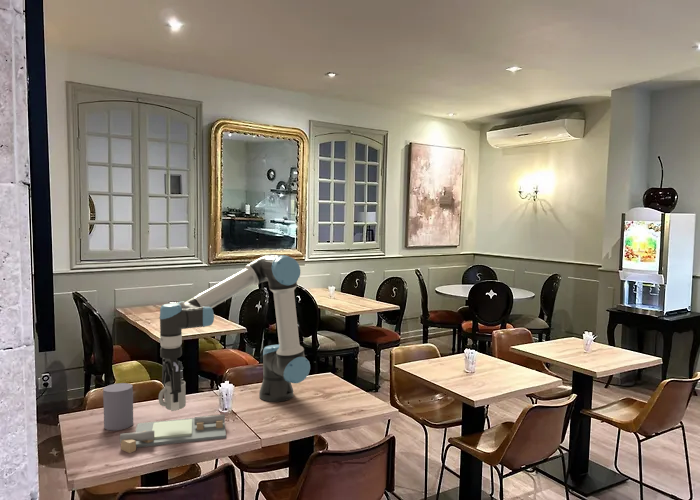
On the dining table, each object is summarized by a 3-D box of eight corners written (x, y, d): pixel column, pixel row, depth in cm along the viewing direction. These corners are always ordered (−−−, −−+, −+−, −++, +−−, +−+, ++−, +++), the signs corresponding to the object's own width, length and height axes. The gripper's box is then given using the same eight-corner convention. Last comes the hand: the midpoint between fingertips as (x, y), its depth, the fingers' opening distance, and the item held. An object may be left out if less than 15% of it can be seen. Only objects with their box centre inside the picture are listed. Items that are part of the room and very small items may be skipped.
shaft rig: (223, 417, 214) (223, 405, 213) (226, 442, 190) (226, 429, 190) (127, 426, 204) (127, 413, 204) (118, 454, 181) (118, 439, 180)
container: (103, 432, 198) (102, 393, 197) (104, 422, 208) (103, 385, 207) (133, 428, 202) (133, 389, 201) (133, 419, 212) (132, 381, 211)
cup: (189, 407, 199) (188, 383, 198) (163, 413, 192) (162, 389, 191) (180, 402, 204) (180, 379, 203) (154, 408, 197) (154, 384, 197)
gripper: (152, 342, 203) (153, 401, 204) (169, 353, 186) (169, 417, 188) (172, 339, 207) (173, 397, 208) (190, 350, 191) (190, 413, 192)
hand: (171, 407), depth 198 cm, fingers closed on cup, 7 cm apart
